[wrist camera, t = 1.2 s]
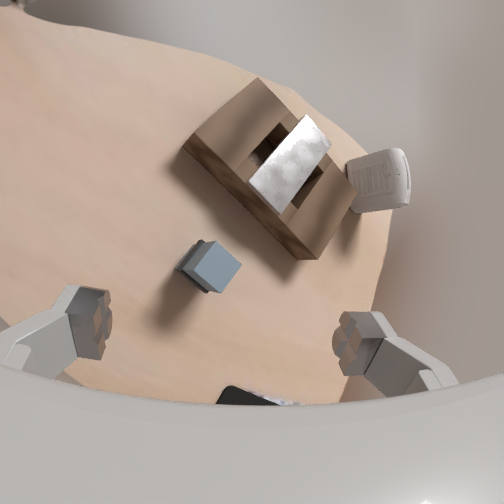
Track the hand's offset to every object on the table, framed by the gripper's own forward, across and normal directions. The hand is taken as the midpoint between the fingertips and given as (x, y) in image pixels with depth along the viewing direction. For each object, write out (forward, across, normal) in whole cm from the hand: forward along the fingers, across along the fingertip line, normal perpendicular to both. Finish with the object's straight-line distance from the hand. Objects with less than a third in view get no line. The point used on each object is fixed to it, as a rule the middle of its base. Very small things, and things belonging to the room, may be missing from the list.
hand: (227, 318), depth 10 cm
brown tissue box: (+38, -8, +2) cm, 39 cm away
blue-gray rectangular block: (+28, +2, +14) cm, 31 cm away
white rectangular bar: (+37, -9, +1) cm, 38 cm away
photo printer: (+44, -25, +3) cm, 51 cm away
